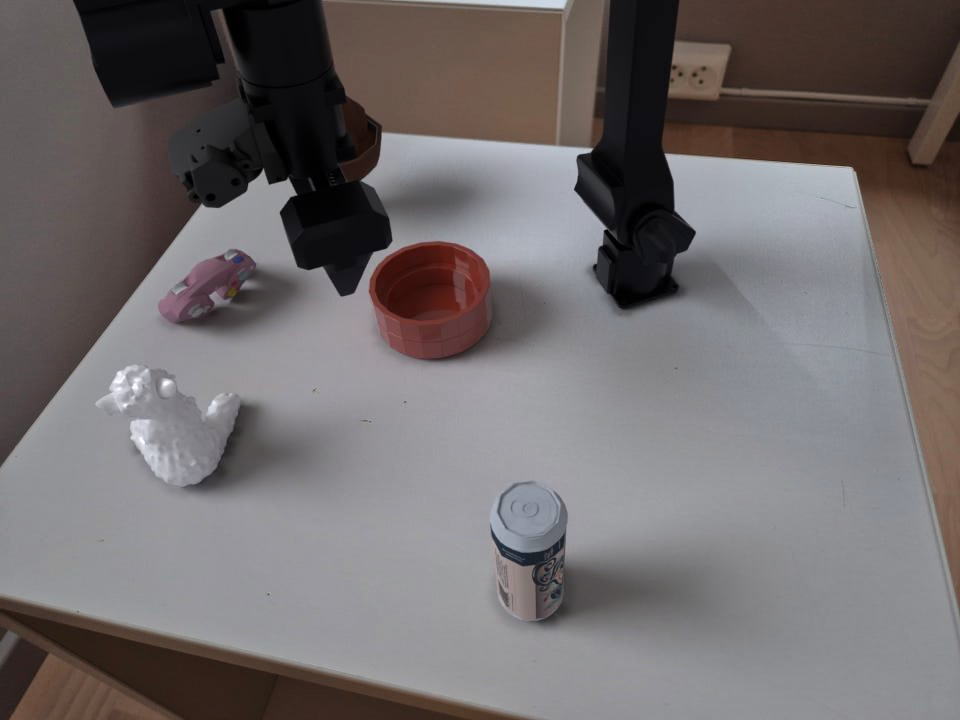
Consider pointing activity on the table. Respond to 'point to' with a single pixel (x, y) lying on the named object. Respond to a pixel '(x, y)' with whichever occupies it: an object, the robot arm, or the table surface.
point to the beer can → (529, 549)
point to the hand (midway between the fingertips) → (331, 255)
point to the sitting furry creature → (171, 423)
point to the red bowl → (431, 299)
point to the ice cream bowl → (361, 141)
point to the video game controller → (207, 285)
